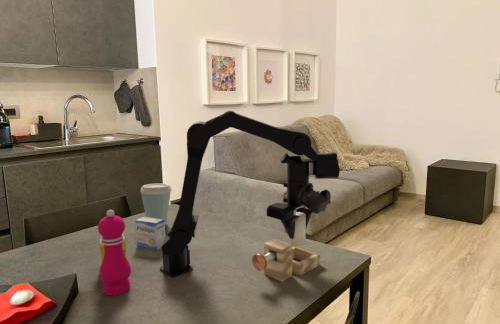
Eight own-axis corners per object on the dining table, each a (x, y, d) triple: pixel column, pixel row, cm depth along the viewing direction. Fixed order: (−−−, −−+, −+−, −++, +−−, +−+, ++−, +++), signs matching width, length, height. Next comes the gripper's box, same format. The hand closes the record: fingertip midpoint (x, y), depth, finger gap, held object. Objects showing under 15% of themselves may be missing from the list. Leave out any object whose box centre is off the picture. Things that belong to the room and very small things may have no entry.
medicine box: (136, 247, 119) (134, 220, 117) (145, 242, 123) (143, 215, 122) (157, 250, 116) (156, 223, 115) (166, 245, 120) (164, 218, 119)
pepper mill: (122, 298, 90) (116, 215, 86) (94, 295, 91) (86, 213, 87) (137, 283, 97) (132, 206, 93) (111, 280, 98) (104, 204, 94)
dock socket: (286, 283, 95) (286, 251, 94) (260, 272, 101) (260, 241, 100) (320, 264, 105) (320, 235, 104) (294, 255, 111) (294, 227, 110)
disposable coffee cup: (142, 221, 142) (140, 182, 139) (172, 219, 145) (170, 179, 142) (142, 231, 132) (139, 189, 129) (174, 228, 135) (172, 186, 132)
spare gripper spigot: (298, 247, 101) (298, 218, 100) (285, 243, 104) (285, 214, 103) (308, 242, 104) (309, 214, 103) (295, 238, 107) (295, 210, 106)
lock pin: (264, 273, 92) (263, 257, 92) (252, 268, 95) (251, 252, 94) (286, 261, 98) (286, 246, 98) (274, 257, 101) (274, 242, 100)
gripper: (300, 191, 89) (300, 255, 92) (344, 177, 102) (342, 234, 105) (265, 183, 97) (265, 242, 99) (309, 172, 110) (308, 224, 113)
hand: (297, 236), depth 104 cm, fingers closed on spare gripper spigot, 4 cm apart
